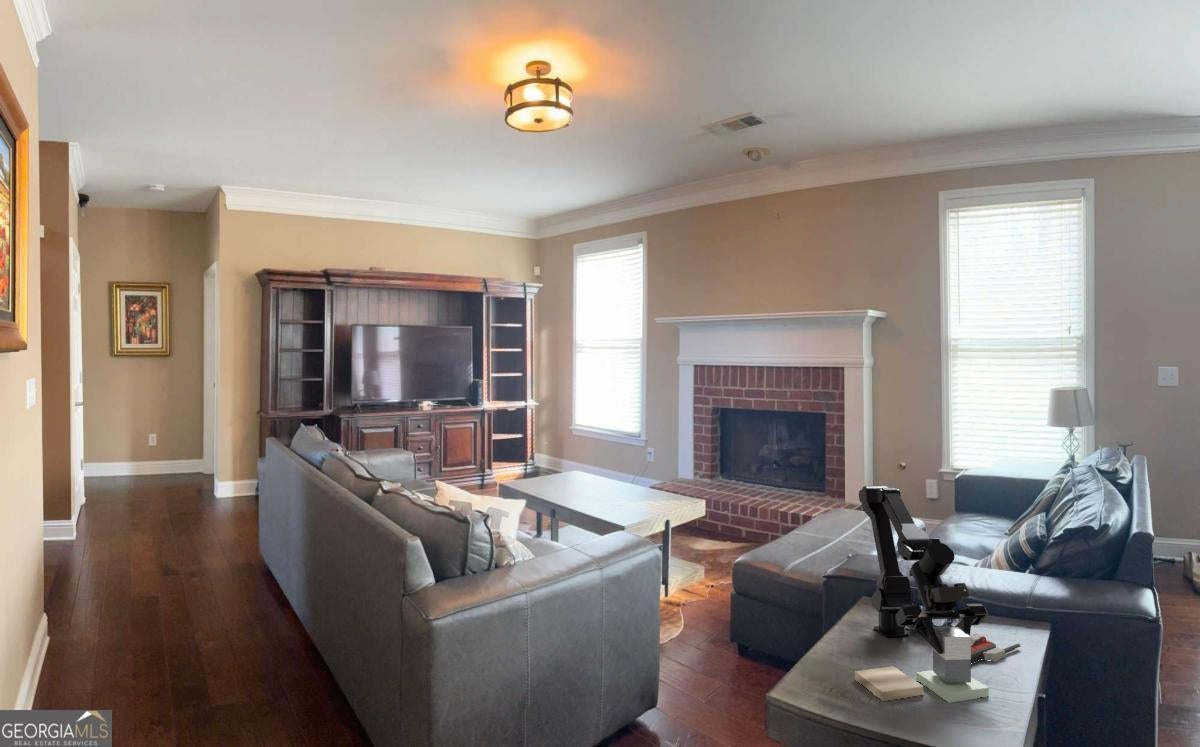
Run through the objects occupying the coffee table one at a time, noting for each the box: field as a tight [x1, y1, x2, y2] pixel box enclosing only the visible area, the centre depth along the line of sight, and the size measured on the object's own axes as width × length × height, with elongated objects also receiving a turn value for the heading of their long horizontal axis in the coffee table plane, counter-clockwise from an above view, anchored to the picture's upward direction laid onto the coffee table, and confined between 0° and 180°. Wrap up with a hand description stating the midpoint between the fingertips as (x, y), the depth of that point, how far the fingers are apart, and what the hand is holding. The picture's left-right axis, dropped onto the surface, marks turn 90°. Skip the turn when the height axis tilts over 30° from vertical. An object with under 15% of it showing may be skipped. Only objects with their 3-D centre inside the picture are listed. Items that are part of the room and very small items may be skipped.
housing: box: [932, 625, 972, 683], centre depth 150 cm, size 6×6×10 cm
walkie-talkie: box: [970, 633, 1021, 664], centre depth 167 cm, size 9×4×20 cm
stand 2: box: [915, 669, 990, 704], centre depth 150 cm, size 10×10×2 cm
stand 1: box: [854, 665, 924, 702], centre depth 151 cm, size 10×10×2 cm
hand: (954, 653), depth 148 cm, fingers open, 6 cm apart
